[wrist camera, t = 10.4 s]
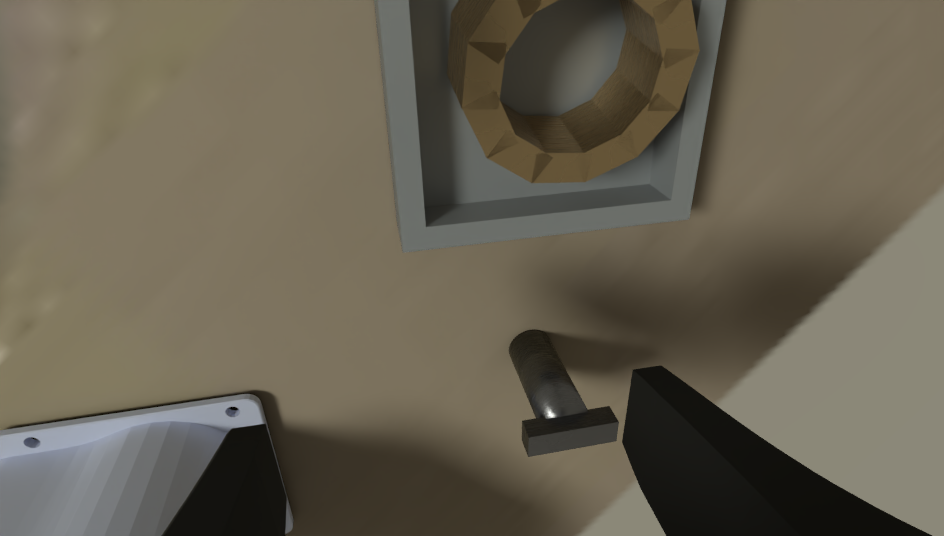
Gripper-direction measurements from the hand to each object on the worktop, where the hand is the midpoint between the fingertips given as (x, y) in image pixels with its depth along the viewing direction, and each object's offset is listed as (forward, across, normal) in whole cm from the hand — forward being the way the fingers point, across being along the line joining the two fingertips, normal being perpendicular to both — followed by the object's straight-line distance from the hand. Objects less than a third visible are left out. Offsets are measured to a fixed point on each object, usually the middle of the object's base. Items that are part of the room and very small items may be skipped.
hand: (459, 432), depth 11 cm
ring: (+9, -5, -7) cm, 12 cm away
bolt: (+10, -4, +7) cm, 13 cm away
